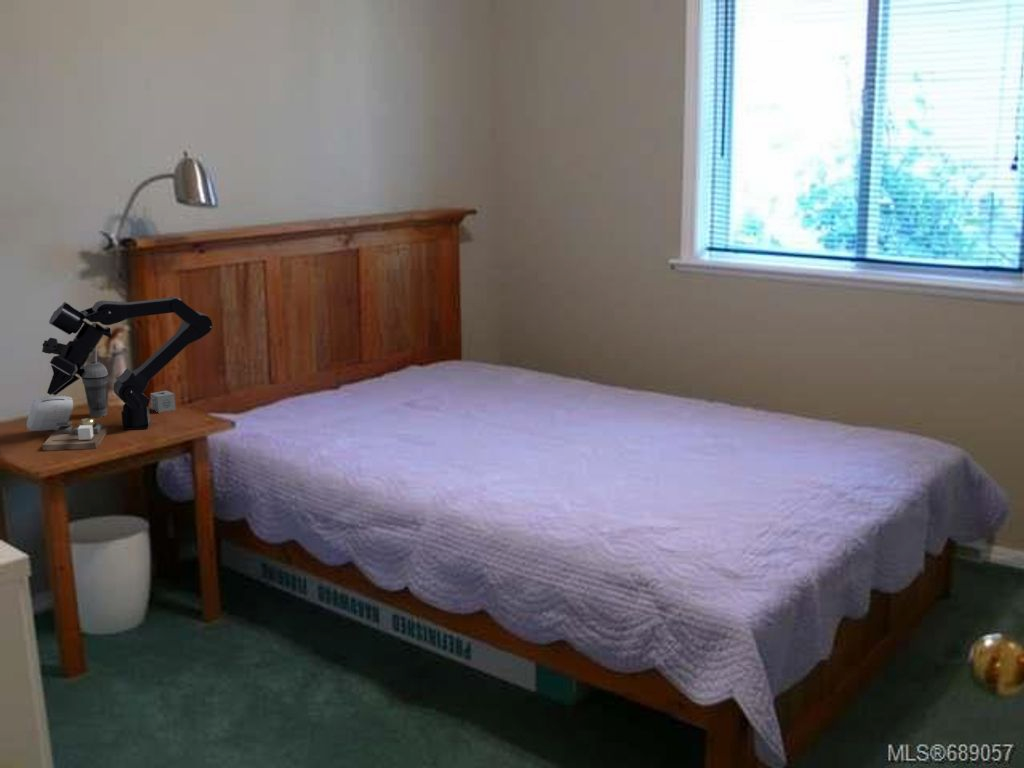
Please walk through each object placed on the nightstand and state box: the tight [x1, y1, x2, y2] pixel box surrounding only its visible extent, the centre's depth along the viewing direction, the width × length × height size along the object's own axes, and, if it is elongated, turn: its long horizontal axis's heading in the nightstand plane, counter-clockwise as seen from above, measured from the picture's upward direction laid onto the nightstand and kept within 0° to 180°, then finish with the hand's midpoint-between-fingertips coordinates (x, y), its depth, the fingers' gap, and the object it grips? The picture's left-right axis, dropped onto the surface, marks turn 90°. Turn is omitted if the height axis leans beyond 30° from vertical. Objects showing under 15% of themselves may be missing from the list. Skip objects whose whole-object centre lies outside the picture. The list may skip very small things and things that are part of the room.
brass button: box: [80, 417, 95, 427], centre depth 292 cm, size 3×3×2 cm
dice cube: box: [149, 390, 176, 413], centre depth 318 cm, size 5×5×5 cm
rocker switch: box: [57, 420, 73, 426], centre depth 292 cm, size 3×4×1 cm, turn 8°
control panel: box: [41, 421, 108, 451], centre depth 289 cm, size 13×14×3 cm
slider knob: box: [78, 425, 93, 440], centre depth 285 cm, size 3×3×3 cm
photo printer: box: [25, 395, 74, 432], centre depth 294 cm, size 10×4×12 cm
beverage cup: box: [80, 346, 109, 418], centre depth 311 cm, size 7×7×20 cm
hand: (51, 394), depth 288 cm, fingers open, 6 cm apart
